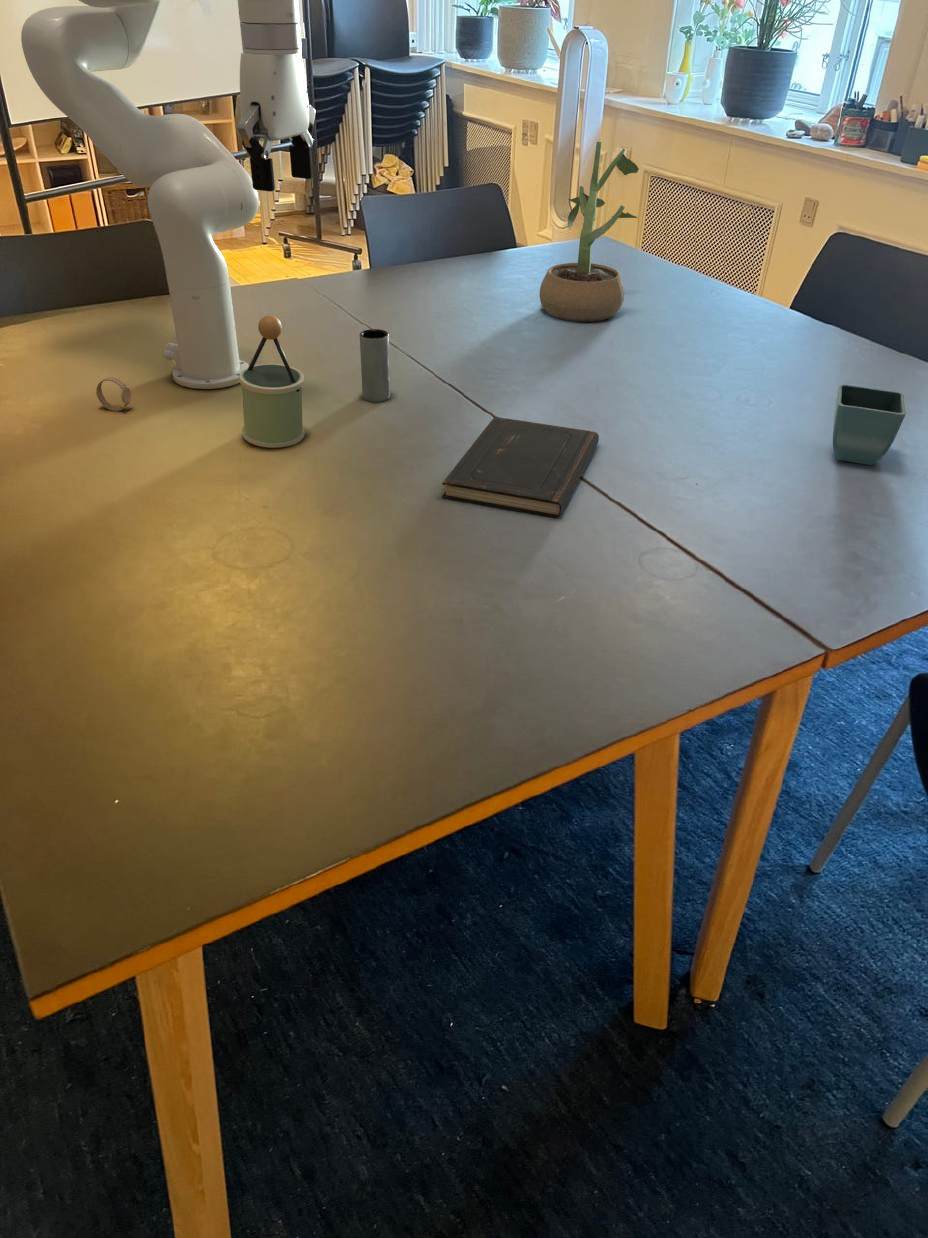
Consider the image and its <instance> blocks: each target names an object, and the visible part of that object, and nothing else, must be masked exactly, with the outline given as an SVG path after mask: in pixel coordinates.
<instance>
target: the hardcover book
mask: <svg viewBox="0 0 928 1238" xmlns="http://www.w3.org/2000/svg"><path fill="white" fill-rule="evenodd" d="M599 440H600V435H599V434H598V432H596V431H592V430H585V429H578V428H573V427H572V428H571V427H565V426H559V425H553V424H545V423H540V422H533V421H526V420H518V419H514V418H513V419H512V418H507V417H500V416H494V417H493V418H492V419H491V420H490V422H489V423H488V424H487V425H486V427H485V428H484V430H483V431H482V432H481V433H480V434H479V436H478V437H477V438H476V440H475V441H473V443H472V445H471V446H470V447H469V448H468V450H467V451H466V452H465V454H464V455H462V457H461V458H460V460H459V461H458V462H457V463H456V465H455V466H453V469H452V470H451V471H450V472H449V474H448V475H447V476H446V477H445V479H444V480H443V481H442V485H443V486H445V489H444V492H443V494H442V495H441V498H443V499H447V500H448V499H449V500H454V501H459V502H466V503H470V504H476V505H477V504H478V505H482V506H488V507H494V508H499V509H505V510H511V511H515V512H520V513H521V512H522V513H528V514H534V515H539V516H545V517H549V518H550V517H551V518H558V517H560V515H561V514H562V513H563V510H564V508H565V507H566V504H567V503H568V501H569V500H570V497H571V495H572V493H573V492H574V490H575V488H576V485H577V484H578V482H579V480H580V478H581V477H582V474H583V473H584V472H585V471H584V470H585V469H586V467H587V465H588V463H589V462H590V459H591V457H592V455H593V454H594V452H595V450H596V448H597V446H598V444H599Z"/></svg>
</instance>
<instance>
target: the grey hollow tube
mask: <svg viewBox="0 0 928 1238" xmlns="http://www.w3.org/2000/svg"><path fill="white" fill-rule="evenodd" d="M359 350H360V351H359V352H360V353H359V354H360V355H359V356H360V373H361V374H360V375H361V394H362V398H363V399H364V400H365V401H367V402H373V403H380V402H385V401H387V400H389V399H390V398H391V395H392V394H391V393H392V392H391V363H390V359H391V357H390V333H389V332H388V331H386V330H384V329H380V328H375V329H374V328H371V329H365V330H362V331H361V332H360V333H359Z"/></svg>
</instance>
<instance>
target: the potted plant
mask: <svg viewBox="0 0 928 1238" xmlns="http://www.w3.org/2000/svg"><path fill="white" fill-rule="evenodd" d="M595 143H596V145H595V151H594V152H595V153H594V160H593V167H592V174H591V178H590V184H589V193H588V194H589V195H587V194H586V193H585V187H584V186H583V185H580V186H579V189H578V191H579V192H578V196H577V197H574V198H568V201H569V202H571V203H574V204H576V205H575V206H574V207H572V209H571V210H570V212H569V214H568V217H567V227H568V231H571V229H572V226H573V225H574V222H575V220H576V218H577V216H578V214H579V211H580V212H581V214H582V216H583V222H582V228H581V230H580V235H579V246H578V247H579V248H578V256H577V262H565V263H560V264H555V265H553V266H550V267H549V268H548V269H547V271H546V274H544V278H543V280H542V281H541V283H540V286H539V287H540V288H539V300H540V304H541V306H542V308H543V309H544V311H545V312H546V313H548V314H549V315H551V317H553V318H554V317H555V318H557V319H560V320H565V321H569V322H570V321H571V322H583V323H584V322H585V323H587V322H598V321H604V320H608V319H610V318H612V317H613V316H615V315H616V314H617V313H618V312H619V311H620V309H621V308H622V306H623V303H624V301H625V290H624V285H623V282H622V278H621V273H620V272H619V271H618V270H617V269H615V268H613V267H610V266H607V265H603V264H598V263H592V246H593V244H594V242H595V241H596V240H597V239H599V238H600V237H602V236H603V235H604V234H605V233H606V232H608V231H609V230H610V229H611V228H612V227H613V226H614V224H615V223H616V222H617V221H618V219H638V216H636V215H634V214H632V213H630V212H628V211H627V212H626V213H625V212H623V211H624V210H625V206H624V205H620V206H619V208H618V209H617V211H616V212H615V213H614V214H613V215H612V216H611V218H610V219H609V220H607V221H606V222H605V223H604V224H603V225H601V226H600V227H598V228H595V229H594V223H595V221H596V219H597V208H602V207H603V206H604V205H605V204H606V202H605V200H603V199H601V198H598V192H599V191H600V190H601V189H602V188H603V187H604V185H605V184H606V182H607V180H608V178H609V177H610V175H611V174H612V172H613V171H614V169H615V168H616V167H617V169H618V170H619V171H621V173H622V174H623V175H624V176H627V175H630V174H637V173H638V172H639V169H640V168H639V167H638V165H637V164H636V163H635V162H634V161H632V160H631V159H630V158H628V157H626V155H625V152H626V149H625V148H622V149H621V151H620V152H619V153H618V154H617V155H616V156H615V158H614V159H613V160H612V161H611V163H610V164H609V165H608V167H607V168H606V169H605V171H604V173H603V174H602V175H601V177H600V179H599V176H600V174H599V173H600V165H601V153H602V141H596V142H595Z"/></svg>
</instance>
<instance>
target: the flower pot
mask: <svg viewBox="0 0 928 1238" xmlns="http://www.w3.org/2000/svg"><path fill="white" fill-rule="evenodd" d="M906 415H907V412H906V407H905V394H904V393H903V392H901V391H894V390H888V389H879V388H875V387H874V388H873V387H866V386H859V385H852V384H843V383H840V384H839V385H838V389H837V395H836V402H835V407H834V414H833V427H832V429H833V430H832V448H833V452H834V456H835V459H836V460H838V461H843V462H849V463H854V464H861V465H867V466H874V465H875V464H876V463H878V462H879V461H880V460H881V459H883V457H884V456H885V455H886V454H887V453H888V451H889V450H890V449H891V447H892V445H893V443H894V441H895V439H896V437H897V435H898V433H899V431H900V428H901V426H902V424H903V421H904V419H905V416H906Z"/></svg>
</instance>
